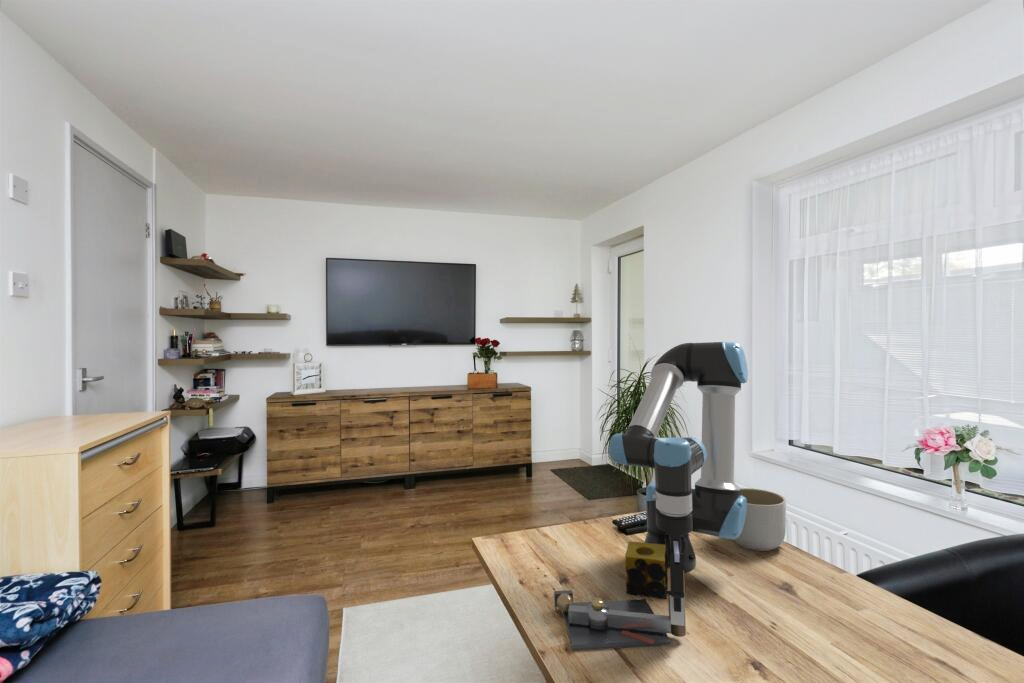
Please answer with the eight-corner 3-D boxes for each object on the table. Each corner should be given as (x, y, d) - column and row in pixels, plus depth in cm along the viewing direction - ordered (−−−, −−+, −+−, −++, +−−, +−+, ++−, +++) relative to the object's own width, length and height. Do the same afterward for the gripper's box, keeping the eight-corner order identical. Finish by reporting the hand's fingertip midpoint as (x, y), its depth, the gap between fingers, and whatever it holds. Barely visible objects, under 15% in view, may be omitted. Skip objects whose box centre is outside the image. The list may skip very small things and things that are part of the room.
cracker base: (645, 603, 116) (644, 576, 116) (672, 649, 99) (671, 617, 99) (554, 608, 115) (553, 581, 115) (565, 655, 98) (564, 623, 98)
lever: (684, 626, 104) (682, 565, 104) (687, 639, 100) (685, 576, 100) (570, 614, 110) (568, 556, 110) (568, 626, 106) (566, 566, 106)
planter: (719, 532, 158) (718, 487, 158) (773, 534, 155) (772, 488, 155) (736, 555, 141) (734, 504, 141) (797, 557, 138) (795, 506, 138)
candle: (668, 581, 127) (667, 544, 127) (667, 601, 118) (666, 560, 118) (629, 576, 131) (628, 540, 131) (625, 594, 121) (624, 555, 121)
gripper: (654, 497, 111) (657, 596, 111) (657, 524, 95) (660, 639, 95) (688, 499, 109) (691, 600, 109) (696, 526, 93) (699, 644, 93)
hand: (676, 618), depth 102 cm, fingers closed on lever, 3 cm apart
